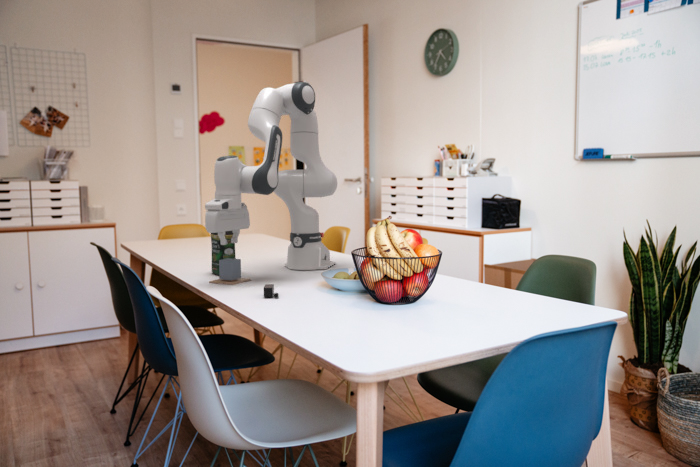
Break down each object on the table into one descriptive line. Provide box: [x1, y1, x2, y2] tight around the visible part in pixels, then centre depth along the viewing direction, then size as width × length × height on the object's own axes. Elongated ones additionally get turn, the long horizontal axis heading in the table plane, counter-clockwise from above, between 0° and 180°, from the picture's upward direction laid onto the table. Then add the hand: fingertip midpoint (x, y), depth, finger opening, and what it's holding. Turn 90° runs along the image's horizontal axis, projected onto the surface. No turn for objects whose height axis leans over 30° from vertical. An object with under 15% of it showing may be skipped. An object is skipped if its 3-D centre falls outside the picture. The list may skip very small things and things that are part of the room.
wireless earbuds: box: [263, 283, 279, 299], centre depth 173 cm, size 4×7×3 cm, turn 3°
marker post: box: [208, 277, 251, 286], centre depth 198 cm, size 10×10×7 cm
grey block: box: [218, 258, 242, 280], centre depth 197 cm, size 5×5×7 cm
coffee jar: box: [210, 231, 237, 276], centre depth 213 cm, size 10×8×19 cm
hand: (229, 243), depth 197 cm, fingers open, 4 cm apart
